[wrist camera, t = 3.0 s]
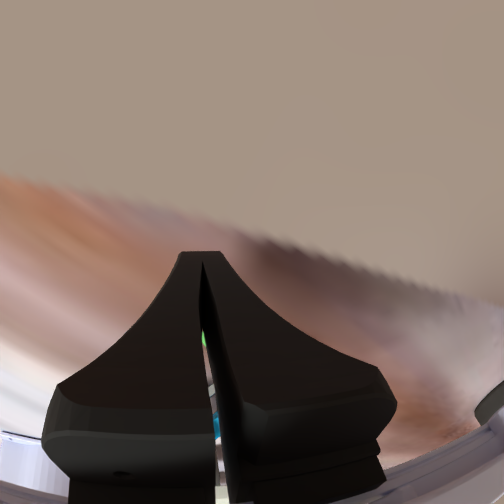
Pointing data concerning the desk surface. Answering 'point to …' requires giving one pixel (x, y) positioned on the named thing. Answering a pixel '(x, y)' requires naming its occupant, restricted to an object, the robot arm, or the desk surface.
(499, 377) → the desk surface
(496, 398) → the smart speaker
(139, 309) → the desk surface
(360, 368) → the robot arm
